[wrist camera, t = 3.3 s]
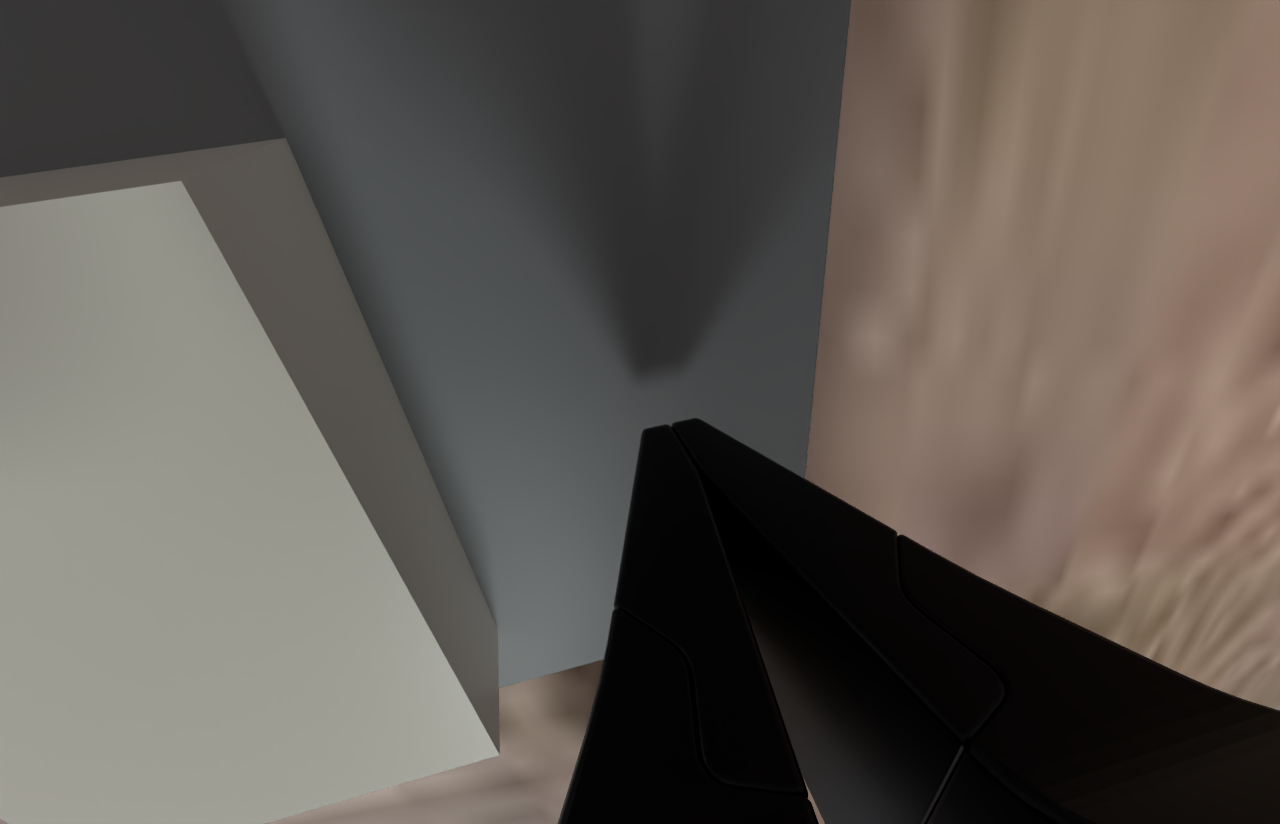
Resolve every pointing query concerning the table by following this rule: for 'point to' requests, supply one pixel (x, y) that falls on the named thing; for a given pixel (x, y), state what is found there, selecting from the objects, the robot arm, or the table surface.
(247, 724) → the block
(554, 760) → the table surface
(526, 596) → the grey flat box
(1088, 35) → the table surface
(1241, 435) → the table surface
